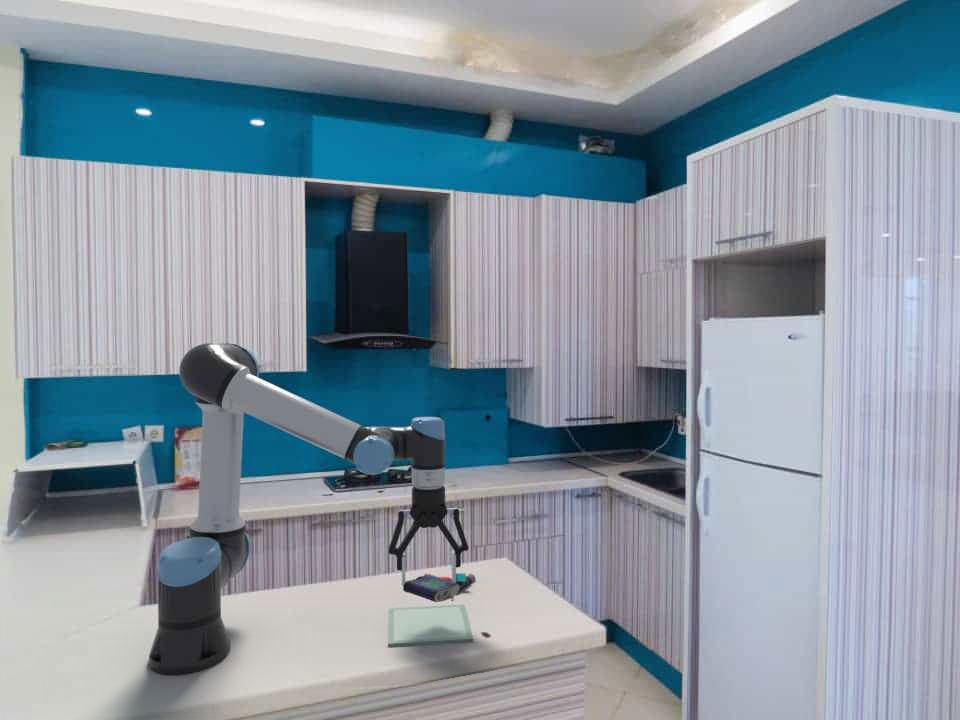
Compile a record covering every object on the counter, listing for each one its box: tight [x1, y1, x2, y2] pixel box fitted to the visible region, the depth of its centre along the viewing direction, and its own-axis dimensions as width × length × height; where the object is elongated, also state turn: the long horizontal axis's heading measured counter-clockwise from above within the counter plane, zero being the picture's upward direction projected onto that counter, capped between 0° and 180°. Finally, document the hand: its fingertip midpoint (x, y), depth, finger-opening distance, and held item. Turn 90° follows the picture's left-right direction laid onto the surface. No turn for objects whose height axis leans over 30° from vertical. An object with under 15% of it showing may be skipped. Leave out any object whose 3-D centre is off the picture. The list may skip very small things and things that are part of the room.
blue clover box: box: [402, 573, 460, 603], centre depth 140 cm, size 9×3×11 cm
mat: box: [387, 603, 474, 648], centre depth 142 cm, size 18×18×1 cm
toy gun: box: [438, 572, 476, 594], centre depth 166 cm, size 10×12×5 cm
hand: (428, 582), depth 143 cm, fingers closed on blue clover box, 11 cm apart
